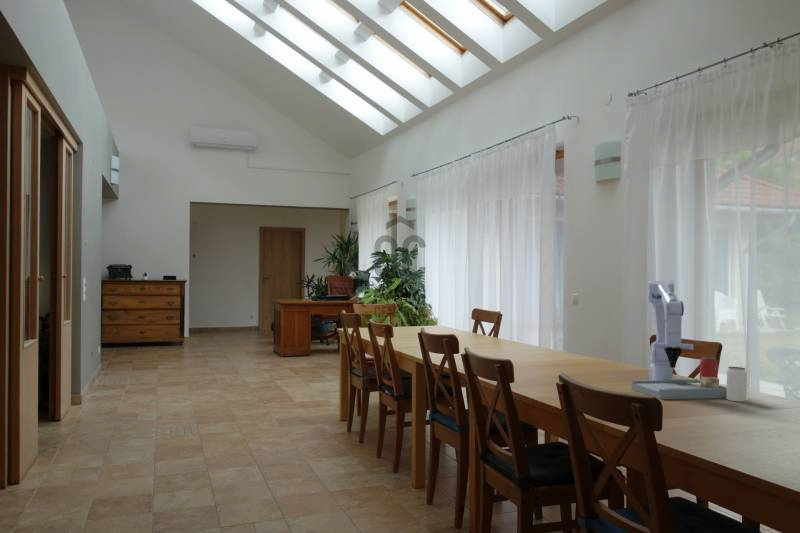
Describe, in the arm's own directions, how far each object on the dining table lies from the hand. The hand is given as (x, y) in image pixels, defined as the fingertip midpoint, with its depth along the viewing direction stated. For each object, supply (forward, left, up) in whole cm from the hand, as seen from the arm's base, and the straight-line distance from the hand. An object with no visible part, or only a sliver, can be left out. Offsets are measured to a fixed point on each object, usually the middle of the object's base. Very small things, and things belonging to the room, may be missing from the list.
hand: (672, 367), depth 240 cm
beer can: (-11, +24, -10) cm, 28 cm away
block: (+5, +13, -7) cm, 15 cm away
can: (+15, +16, -10) cm, 24 cm away
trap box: (+1, +2, -10) cm, 10 cm away
